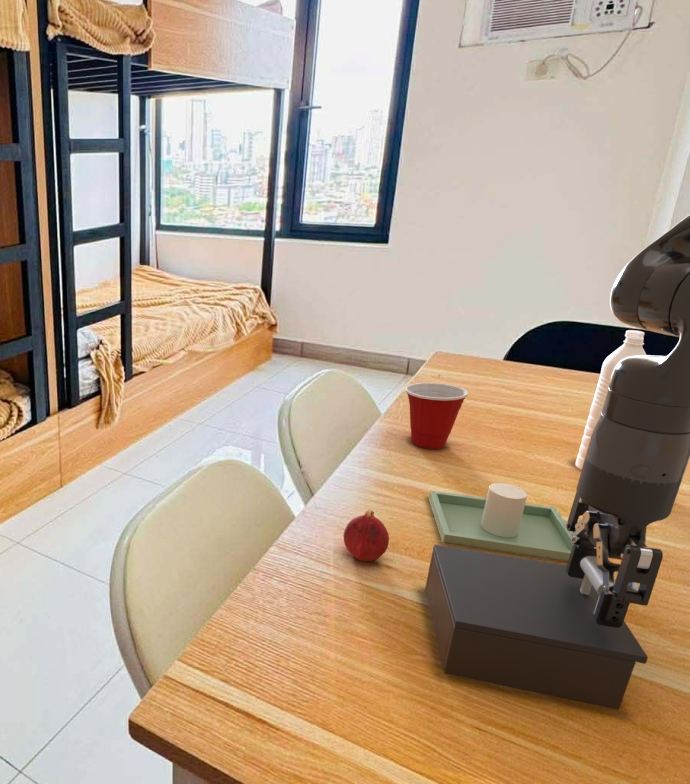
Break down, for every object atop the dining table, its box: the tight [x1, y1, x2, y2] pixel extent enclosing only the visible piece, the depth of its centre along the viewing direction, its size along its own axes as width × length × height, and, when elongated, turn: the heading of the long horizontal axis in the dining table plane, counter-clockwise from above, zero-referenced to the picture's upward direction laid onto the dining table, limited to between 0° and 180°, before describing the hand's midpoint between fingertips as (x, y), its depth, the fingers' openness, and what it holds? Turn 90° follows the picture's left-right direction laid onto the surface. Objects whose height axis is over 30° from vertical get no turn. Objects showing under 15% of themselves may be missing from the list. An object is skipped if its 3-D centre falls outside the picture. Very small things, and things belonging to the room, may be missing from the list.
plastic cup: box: [404, 382, 469, 450], centre depth 122 cm, size 11×11×12 cm
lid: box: [432, 543, 649, 665], centre depth 69 cm, size 17×15×5 cm
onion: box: [342, 509, 390, 562], centre depth 87 cm, size 6×6×8 cm
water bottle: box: [574, 329, 647, 471], centre depth 110 cm, size 9×6×25 cm
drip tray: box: [428, 490, 574, 563], centre depth 94 cm, size 18×14×2 cm
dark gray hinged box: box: [424, 550, 637, 710], centre depth 71 cm, size 16×15×7 cm
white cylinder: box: [481, 482, 528, 537], centre depth 93 cm, size 5×5×6 cm
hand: (591, 598), depth 67 cm, fingers open, 8 cm apart
